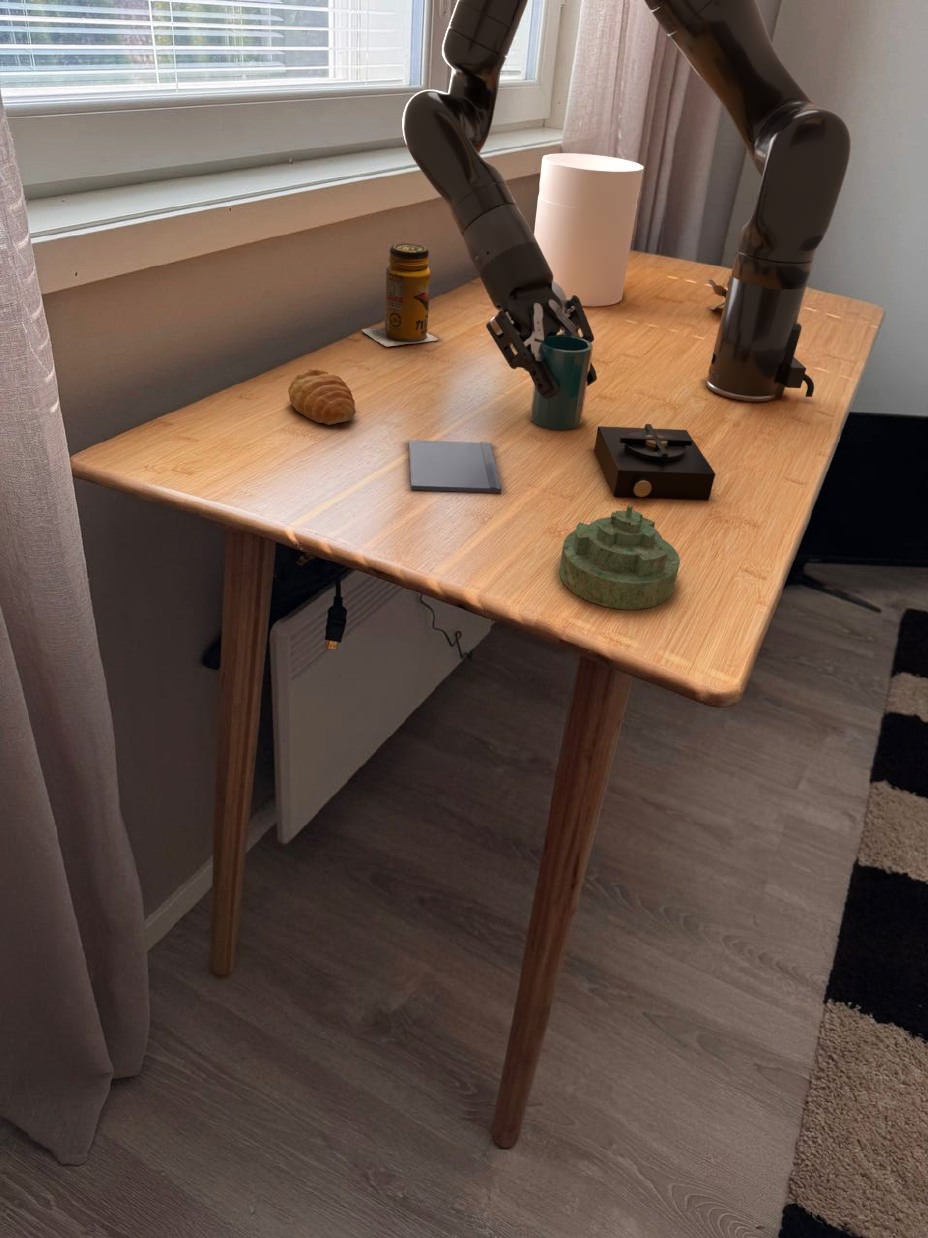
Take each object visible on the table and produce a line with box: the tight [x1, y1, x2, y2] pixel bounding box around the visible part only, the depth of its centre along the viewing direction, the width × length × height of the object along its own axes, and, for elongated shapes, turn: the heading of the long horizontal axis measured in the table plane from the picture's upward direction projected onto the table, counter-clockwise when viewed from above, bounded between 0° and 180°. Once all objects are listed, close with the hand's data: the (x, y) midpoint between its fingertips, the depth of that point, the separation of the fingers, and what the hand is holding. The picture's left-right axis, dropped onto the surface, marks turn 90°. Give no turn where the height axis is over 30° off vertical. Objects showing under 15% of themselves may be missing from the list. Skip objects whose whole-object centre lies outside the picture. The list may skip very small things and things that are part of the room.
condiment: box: [361, 242, 439, 347], centre depth 127 cm, size 7×8×12 cm
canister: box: [533, 152, 645, 307], centre depth 151 cm, size 16×16×20 cm
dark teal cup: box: [529, 333, 594, 431], centre depth 107 cm, size 6×6×9 cm
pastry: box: [287, 368, 357, 426], centre depth 105 cm, size 9×7×4 cm
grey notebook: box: [408, 439, 502, 494], centre depth 97 cm, size 9×11×1 cm
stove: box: [593, 423, 716, 501], centre depth 97 cm, size 10×12×4 cm
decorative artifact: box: [558, 504, 681, 611], centre depth 79 cm, size 10×7×10 cm
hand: (571, 389), depth 106 cm, fingers closed on dark teal cup, 6 cm apart
